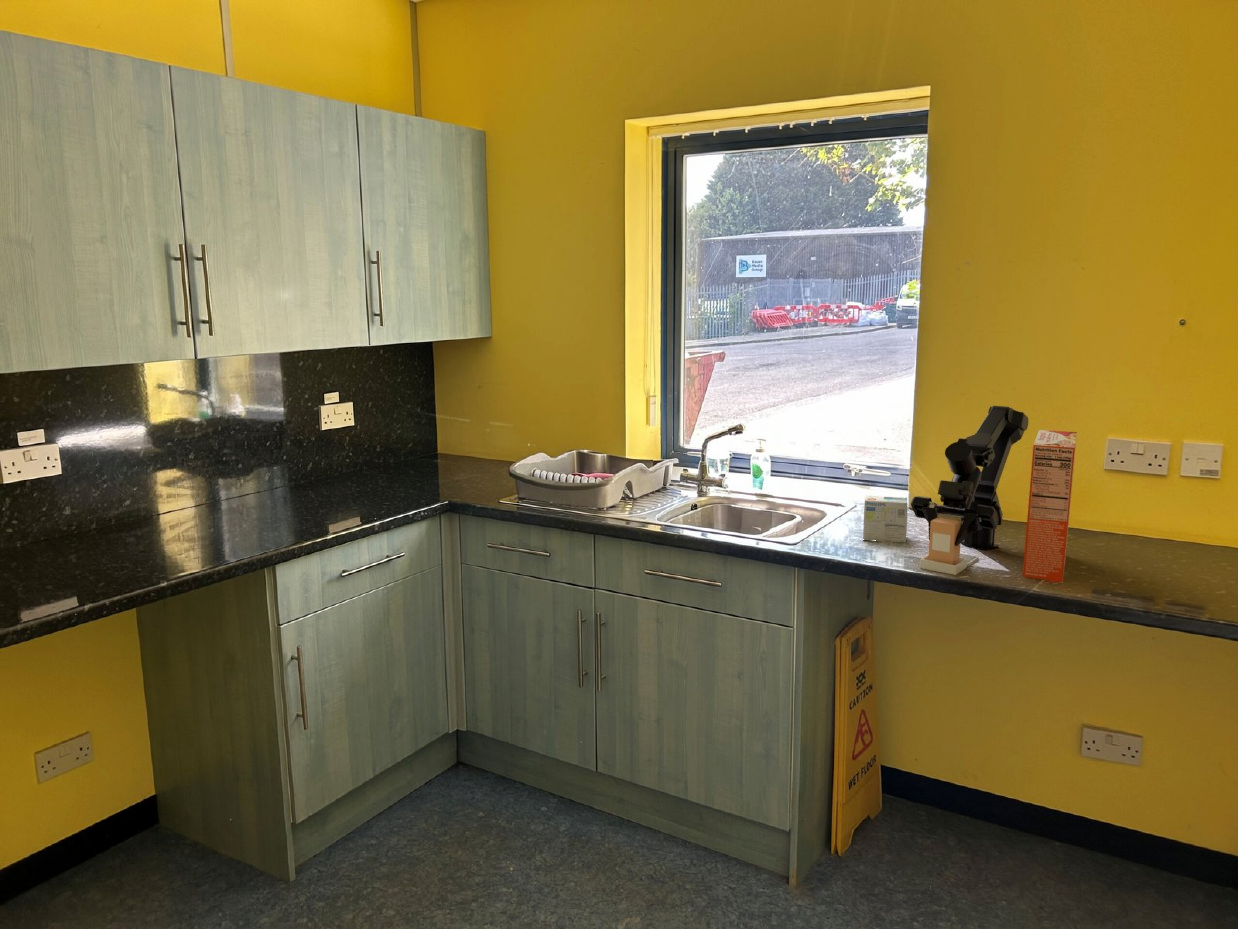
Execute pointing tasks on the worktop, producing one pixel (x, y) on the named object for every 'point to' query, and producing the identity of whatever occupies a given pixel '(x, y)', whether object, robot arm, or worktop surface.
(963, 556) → the case lid
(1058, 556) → the orange cereal box
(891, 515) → the light bulb box
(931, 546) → the block
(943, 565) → the case
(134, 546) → the worktop surface
